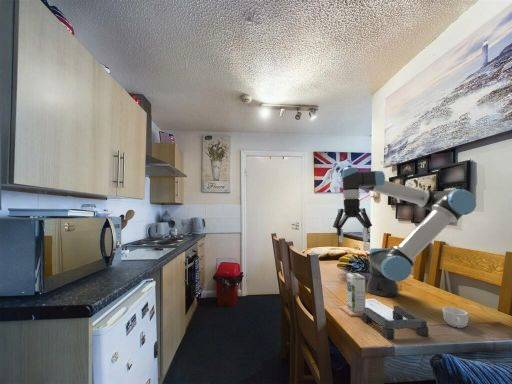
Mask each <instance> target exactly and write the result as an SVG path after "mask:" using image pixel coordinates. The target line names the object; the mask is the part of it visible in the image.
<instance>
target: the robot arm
mask: <svg viewBox="0 0 512 384" xmlns="http://www.w3.org/2000/svg"><path fill="white" fill-rule="evenodd" d="M341 173H342V177H341V178H342V192H343V193H342V196H343V208H338V210H337V215H336V218H335V219H334V223H333V224H332V225H333V226H332V227H333V228H335V229H336V235H337V236H338V243H344V229H343V226H344V225H345V223H346V222H347V221H348V219H350V218H356V219H357V220H358V222H359V223H360V224H361V226H362V240H363V242H369V233H370V232H369V229H370V228H371V227H373V225H372V222H371V220H370V218H369V216H368V214H367V211H366V208H365V207H361V208H360V206H361V205H360V203H361V201H360V190H366V191H370V192H374V193H378V194H380V195H384V196H388V197H391V198H395V199H398V200H402V201H405V202H409V203H412V204H416V205H417V206H418V207H419V208H423V209H426V210H429V211H430V212H429V213H428V214H427V215H426V217H424V218H423V220H422V221H421V222H420V223H418V225H416V227H415V228H414V229H413V230H412V231H411V232H410V233H409V234H408V235H407V236H406V237H405V238H404V239H403V240H402V241H401V242H400V243H399V244H398V245H392V246H391V247H390V248H379V247H378V248H377V247H371V248H370V249H369V253H368V256H369V278H368V280H367V285H366V291H367V292H368V293H369V294H372V295H375V296H379V297H385V298H386V297H387V298H389V297H390V298H393V297H394V298H395V297H398V296H400V289H399V288H398V284H397V282H401V281H404V280H407V279H408V278H409V277H410V275H411V273H412V267H413V266H414V265H415V264H416V263H415V259H416V258H417V257H418V256H419V255H420V253H422V251H423V250H425V249H426V247H428V246H429V244H431V242H432V241H434V239H435V238H436V237H437V236H439V234H440V233H441V232H442V231H443V230H444V229H446V227H447V226H448V225H449V224H450V223H456V222H457V221H459V219H460V218H461V217H462V216H465V215H466V216H467V215H470V214H471V213H473V212H474V211H475V209H476V207H477V201H476V197H475V196H474V194H472V192H471V191H469V190H467V189H463V188H461V189H459V188H455V189H451V190H450V189H449V190H441V191H435V190H429V189H424V190H421V189H419V188H418V189H417V188H414V187H410V186H407V185H404V184H400V183H396V182H392V181H389V180H386V175H385V173H384V171H381V170H369V171H359V168H358V167H357V166H356V167H351V166H350V167H345V168H343V169H342V172H341Z"/></svg>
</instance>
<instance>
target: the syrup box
mask: <svg viewBox="0 0 512 384" xmlns="http://www.w3.org/2000/svg"><path fill="white" fill-rule="evenodd" d="M346 306H347V308H349V309H350V310H351V311H352V312H363V308H366V277H365V276H364V275H361V274H359V273H356V272H355V273H352V272H351V273H350V272H349V273H347V274H346Z"/></svg>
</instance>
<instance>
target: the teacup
mask: <svg viewBox="0 0 512 384" xmlns="http://www.w3.org/2000/svg"><path fill="white" fill-rule="evenodd" d="M442 317H443V319H444V322H445V323H446V324H447V325H449V326H450V327H452V328H456V327H457V328H458V329H463V328H465V327H467V326H468V324H469V313H468V311H466V310H464V309H461V308H458V307H454V306H443V307H442Z"/></svg>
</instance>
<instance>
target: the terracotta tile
mask: <svg viewBox="0 0 512 384" xmlns="http://www.w3.org/2000/svg"><path fill="white" fill-rule="evenodd" d="M339 309H340V310H342V311H343V313H345V314H347V315H348V316H349V317H363V313H364V312H352V311H351V310H350V309H349V308H347V305H341V306H339Z"/></svg>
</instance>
